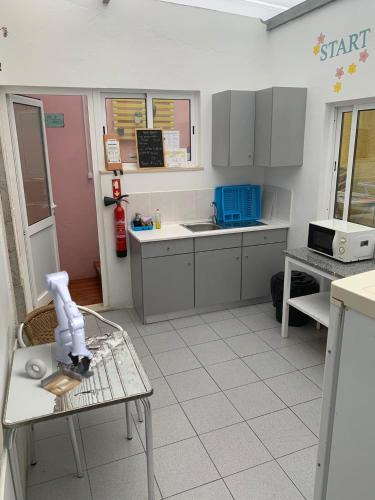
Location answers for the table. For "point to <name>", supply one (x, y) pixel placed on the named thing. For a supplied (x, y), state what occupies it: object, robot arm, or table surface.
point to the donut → (32, 371)
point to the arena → (61, 381)
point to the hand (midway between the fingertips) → (81, 368)
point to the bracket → (82, 372)
